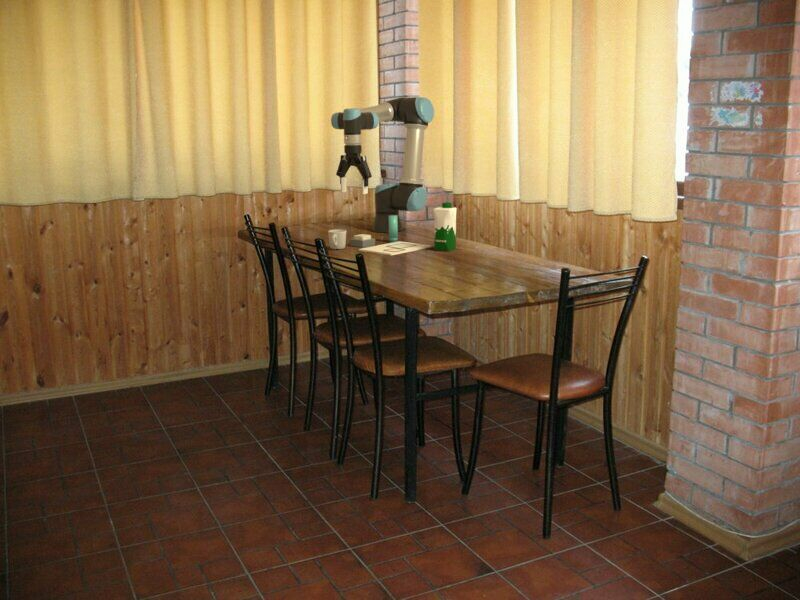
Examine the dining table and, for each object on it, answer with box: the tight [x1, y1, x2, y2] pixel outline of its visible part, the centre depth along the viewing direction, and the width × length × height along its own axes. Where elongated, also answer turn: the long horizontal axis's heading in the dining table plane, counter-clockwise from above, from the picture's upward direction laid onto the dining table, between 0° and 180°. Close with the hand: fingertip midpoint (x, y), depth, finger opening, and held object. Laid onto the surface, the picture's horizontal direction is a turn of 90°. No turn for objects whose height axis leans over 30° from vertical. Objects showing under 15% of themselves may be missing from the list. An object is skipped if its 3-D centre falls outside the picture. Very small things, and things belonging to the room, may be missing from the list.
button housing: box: [349, 237, 376, 248], centre depth 389 cm, size 8×8×3 cm
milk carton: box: [433, 201, 458, 252], centre depth 374 cm, size 9×9×20 cm
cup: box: [327, 228, 347, 250], centre depth 380 cm, size 11×8×8 cm
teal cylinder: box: [388, 215, 399, 243], centre depth 397 cm, size 4×4×12 cm
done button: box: [353, 233, 372, 240], centre depth 389 cm, size 5×5×3 cm
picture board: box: [358, 241, 432, 256], centre depth 379 cm, size 26×19×1 cm
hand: (354, 193), depth 387 cm, fingers open, 13 cm apart
